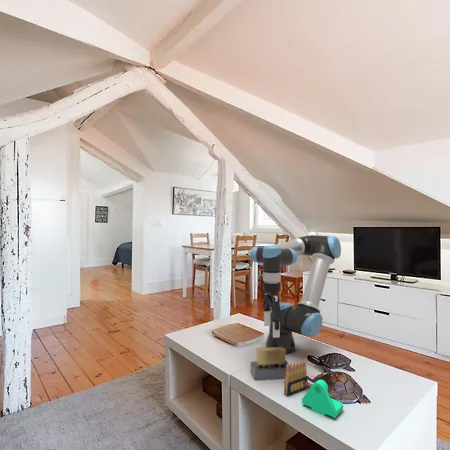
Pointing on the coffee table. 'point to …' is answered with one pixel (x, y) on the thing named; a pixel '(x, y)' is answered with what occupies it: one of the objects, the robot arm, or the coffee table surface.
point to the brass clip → (270, 356)
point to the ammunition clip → (295, 378)
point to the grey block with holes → (268, 371)
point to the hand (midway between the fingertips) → (271, 331)
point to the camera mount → (322, 400)
